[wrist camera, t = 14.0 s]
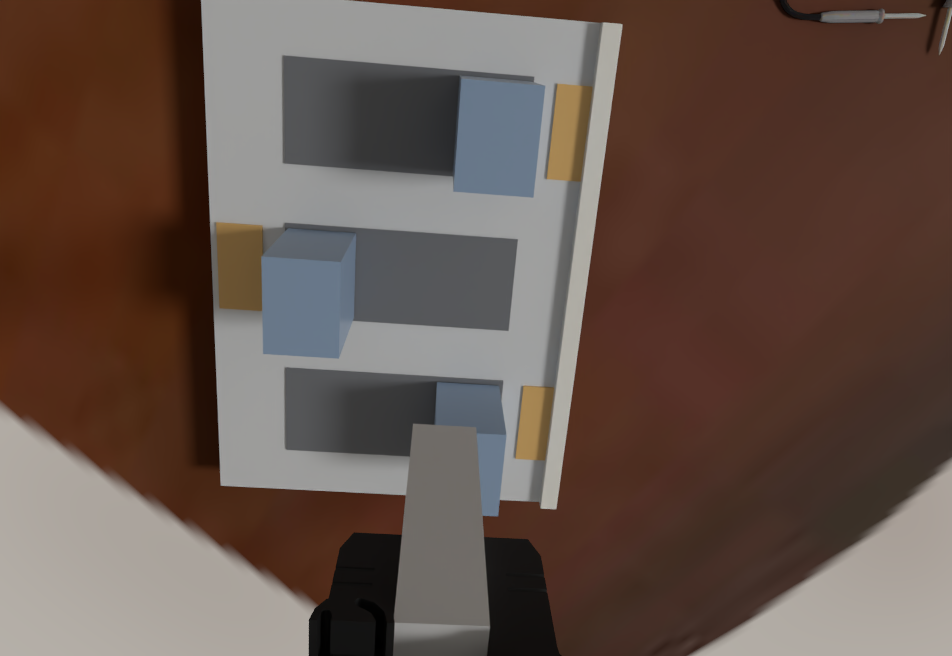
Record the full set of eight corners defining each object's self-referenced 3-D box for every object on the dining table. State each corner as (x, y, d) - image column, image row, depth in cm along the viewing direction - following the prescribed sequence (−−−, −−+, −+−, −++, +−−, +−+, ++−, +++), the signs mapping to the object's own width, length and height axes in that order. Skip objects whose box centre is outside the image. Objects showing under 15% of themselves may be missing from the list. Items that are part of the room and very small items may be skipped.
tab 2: (459, 75, 31) (461, 78, 26) (531, 81, 31) (545, 85, 27) (453, 172, 32) (453, 191, 28) (521, 177, 33) (533, 197, 28)
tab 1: (288, 228, 33) (261, 256, 28) (356, 233, 33) (341, 261, 28) (288, 313, 34) (263, 353, 30) (353, 317, 35) (338, 358, 30)
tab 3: (437, 382, 36) (435, 431, 31) (498, 385, 36) (506, 434, 31) (431, 455, 37) (429, 512, 32) (491, 458, 37) (497, 516, 33)
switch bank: (215, -9, 32) (195, -15, 29) (609, 26, 33) (622, 24, 30) (231, 465, 39) (217, 492, 37) (549, 481, 40) (556, 509, 38)
